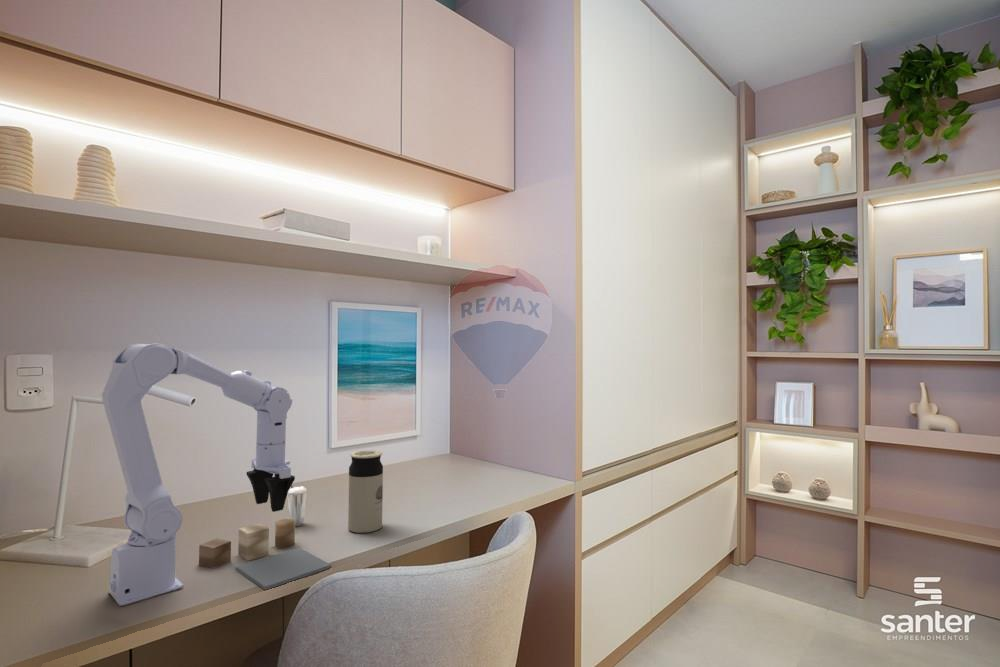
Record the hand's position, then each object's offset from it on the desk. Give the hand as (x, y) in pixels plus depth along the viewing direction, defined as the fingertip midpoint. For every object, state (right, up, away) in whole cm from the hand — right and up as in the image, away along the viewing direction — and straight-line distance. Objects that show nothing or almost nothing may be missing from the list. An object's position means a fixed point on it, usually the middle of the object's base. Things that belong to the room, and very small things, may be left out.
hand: (269, 506), depth 111 cm
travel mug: (+17, -10, +14) cm, 24 cm away
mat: (+7, -9, -9) cm, 14 cm away
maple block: (-3, -10, -2) cm, 10 cm away
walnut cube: (-8, -9, -6) cm, 14 cm away
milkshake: (-1, -10, +17) cm, 20 cm away
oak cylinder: (+2, -10, +4) cm, 10 cm away
